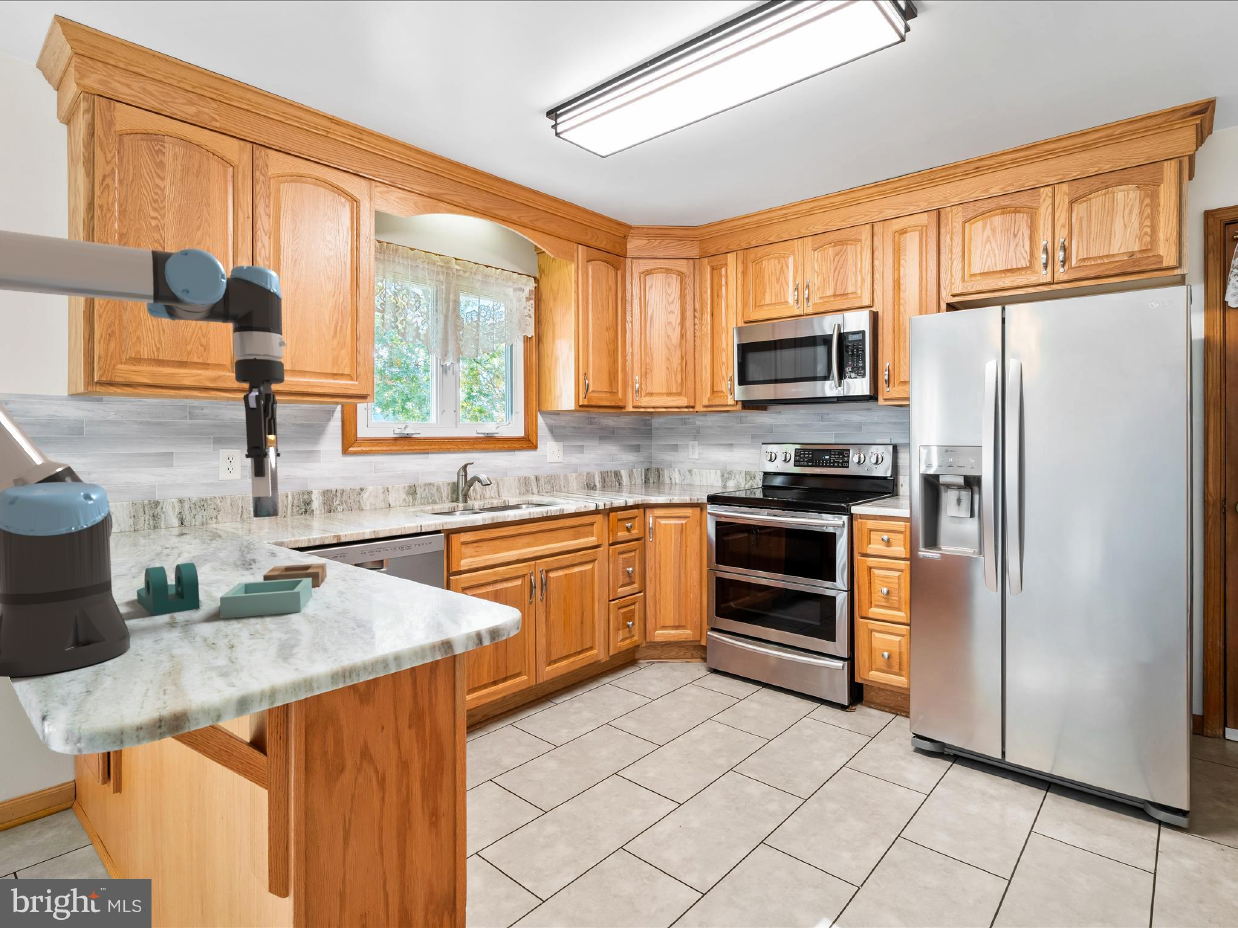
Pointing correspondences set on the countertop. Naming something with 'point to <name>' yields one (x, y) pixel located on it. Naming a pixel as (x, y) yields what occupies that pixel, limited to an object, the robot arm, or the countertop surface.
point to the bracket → (170, 590)
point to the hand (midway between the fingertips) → (265, 495)
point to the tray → (266, 598)
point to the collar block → (298, 573)
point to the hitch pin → (270, 504)
